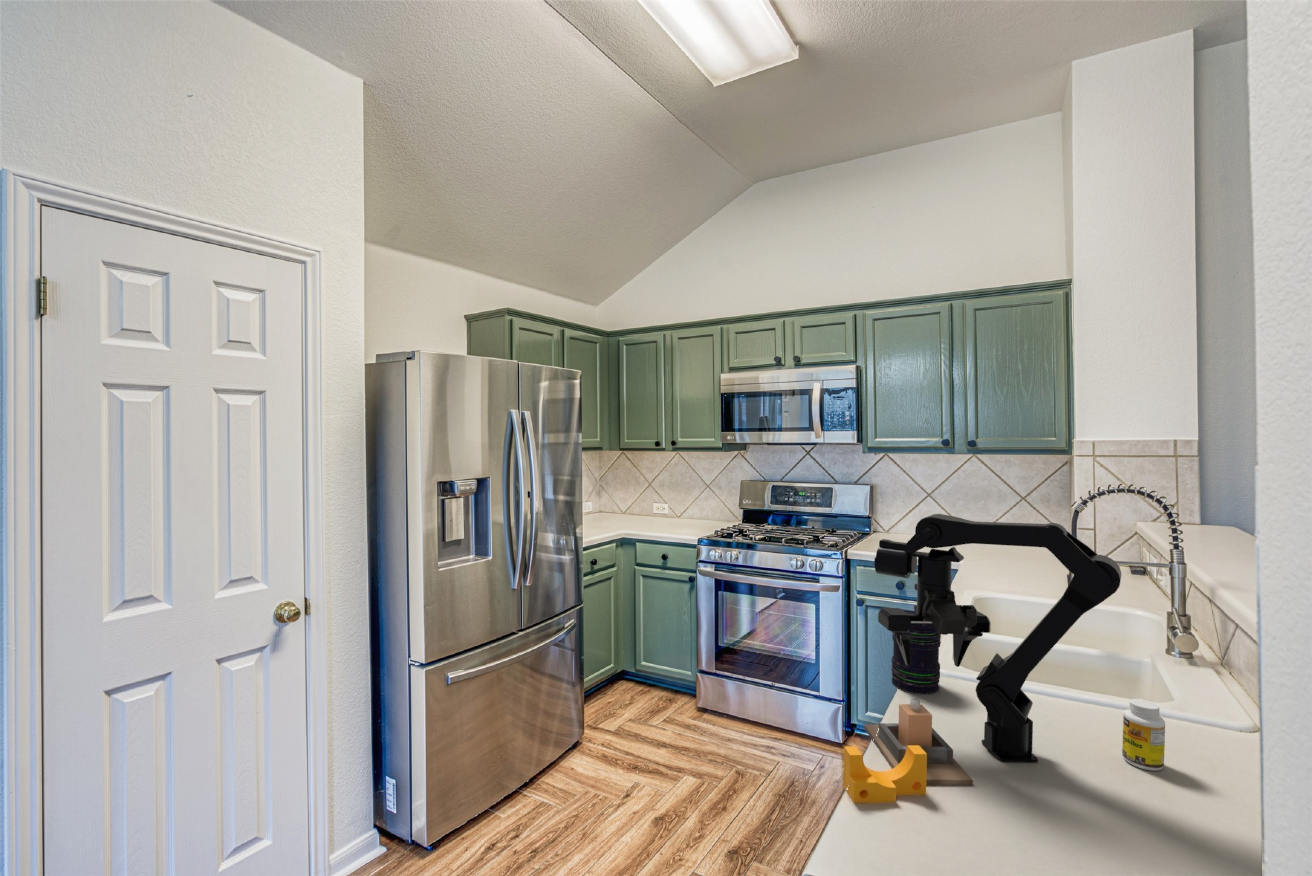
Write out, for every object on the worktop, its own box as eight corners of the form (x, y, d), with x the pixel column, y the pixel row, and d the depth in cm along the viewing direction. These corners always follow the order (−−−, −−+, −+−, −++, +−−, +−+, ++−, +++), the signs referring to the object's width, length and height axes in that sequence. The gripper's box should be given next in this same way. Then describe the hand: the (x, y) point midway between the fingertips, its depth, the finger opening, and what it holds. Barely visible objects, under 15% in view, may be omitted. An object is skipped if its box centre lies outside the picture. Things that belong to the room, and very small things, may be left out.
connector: (920, 744, 108) (921, 695, 108) (931, 756, 104) (932, 705, 104) (898, 743, 108) (899, 695, 108) (907, 756, 104) (908, 705, 104)
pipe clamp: (853, 804, 92) (854, 761, 92) (843, 787, 97) (844, 746, 96) (931, 802, 93) (932, 759, 93) (917, 785, 97) (918, 745, 97)
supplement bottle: (1113, 754, 107) (1115, 696, 107) (1144, 754, 107) (1146, 696, 107) (1140, 772, 102) (1142, 711, 101) (1172, 772, 102) (1174, 711, 102)
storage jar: (934, 678, 139) (936, 612, 139) (944, 697, 130) (946, 626, 129) (888, 674, 142) (889, 609, 141) (894, 691, 132) (895, 622, 132)
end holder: (922, 729, 115) (923, 712, 115) (972, 784, 97) (973, 764, 97) (864, 728, 115) (864, 711, 115) (903, 784, 97) (903, 764, 97)
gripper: (901, 593, 107) (899, 682, 107) (1008, 594, 107) (1006, 684, 107) (877, 577, 118) (876, 658, 118) (975, 579, 118) (973, 660, 118)
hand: (932, 665), depth 115 cm, fingers open, 9 cm apart
